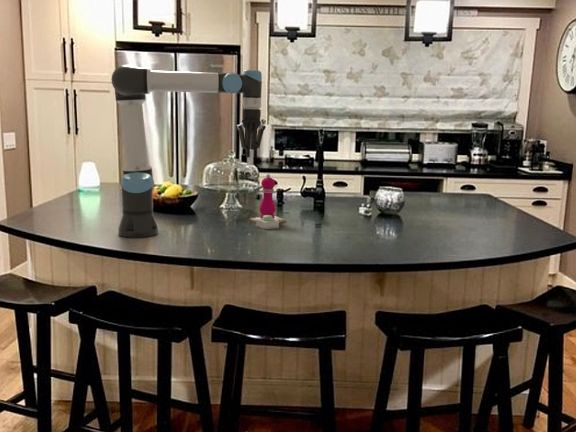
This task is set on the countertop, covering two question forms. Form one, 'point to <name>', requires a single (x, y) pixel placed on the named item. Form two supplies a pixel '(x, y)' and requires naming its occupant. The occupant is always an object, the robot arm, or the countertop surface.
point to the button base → (267, 223)
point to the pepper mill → (267, 197)
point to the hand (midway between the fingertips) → (250, 164)
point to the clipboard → (274, 218)
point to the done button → (267, 218)
